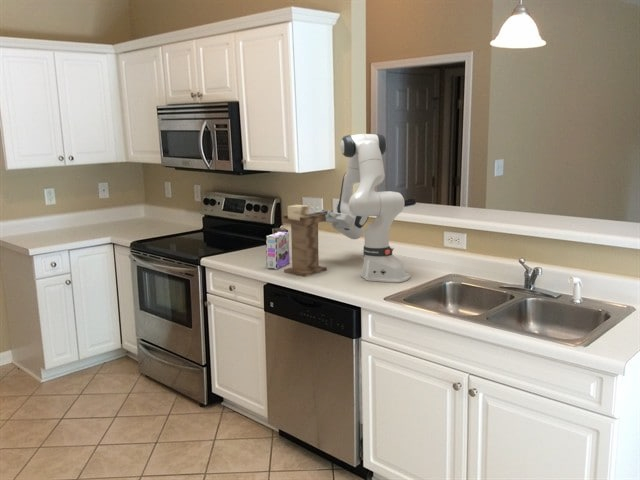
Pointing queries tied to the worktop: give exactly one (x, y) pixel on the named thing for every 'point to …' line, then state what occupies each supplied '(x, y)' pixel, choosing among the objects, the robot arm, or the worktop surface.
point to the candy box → (277, 250)
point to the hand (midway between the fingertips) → (324, 211)
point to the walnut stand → (305, 245)
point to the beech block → (301, 212)
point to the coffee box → (279, 230)
